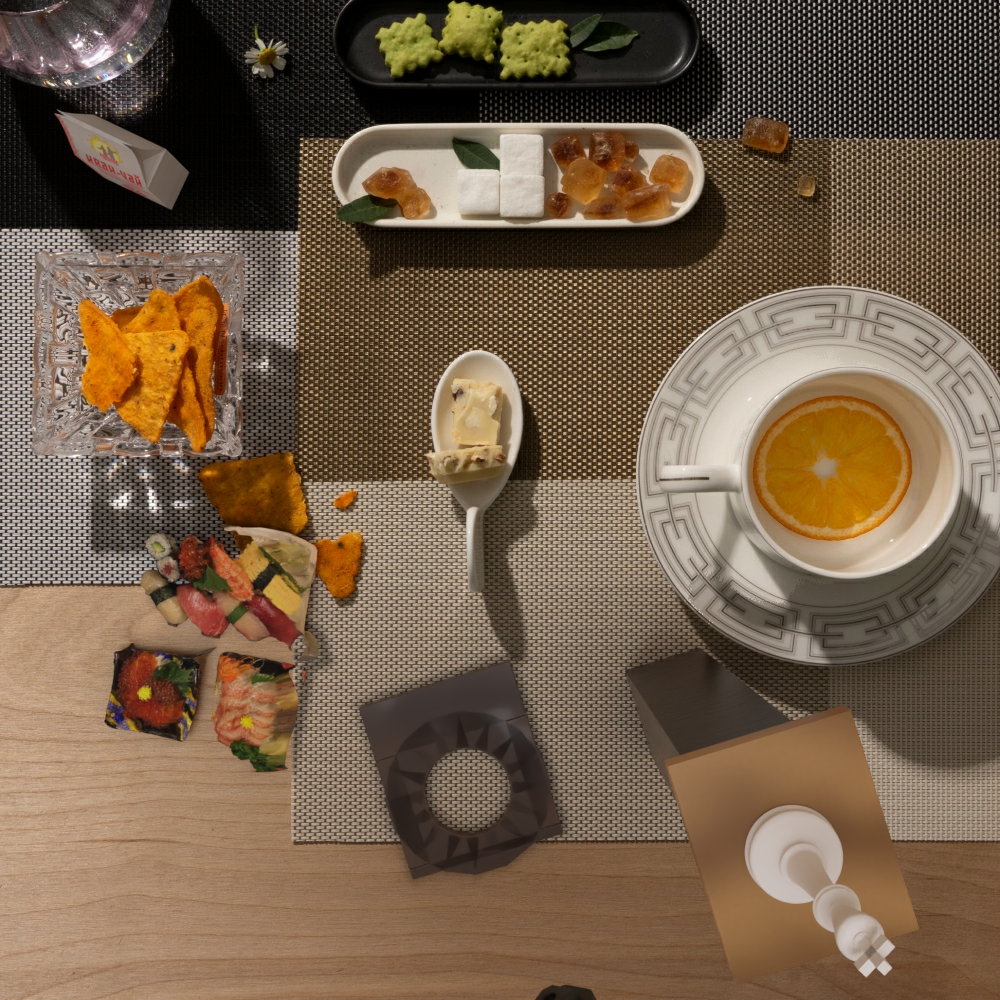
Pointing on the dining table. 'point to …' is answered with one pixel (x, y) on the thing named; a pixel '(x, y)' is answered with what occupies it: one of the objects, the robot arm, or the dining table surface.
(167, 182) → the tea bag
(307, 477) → the dining table surface
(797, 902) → the chess piece
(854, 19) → the dining table surface
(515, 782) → the board
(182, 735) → the food
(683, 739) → the pillar
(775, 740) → the tan rectangular panel
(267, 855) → the dining table surface
